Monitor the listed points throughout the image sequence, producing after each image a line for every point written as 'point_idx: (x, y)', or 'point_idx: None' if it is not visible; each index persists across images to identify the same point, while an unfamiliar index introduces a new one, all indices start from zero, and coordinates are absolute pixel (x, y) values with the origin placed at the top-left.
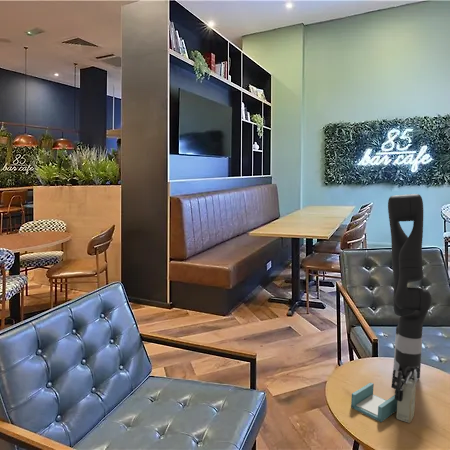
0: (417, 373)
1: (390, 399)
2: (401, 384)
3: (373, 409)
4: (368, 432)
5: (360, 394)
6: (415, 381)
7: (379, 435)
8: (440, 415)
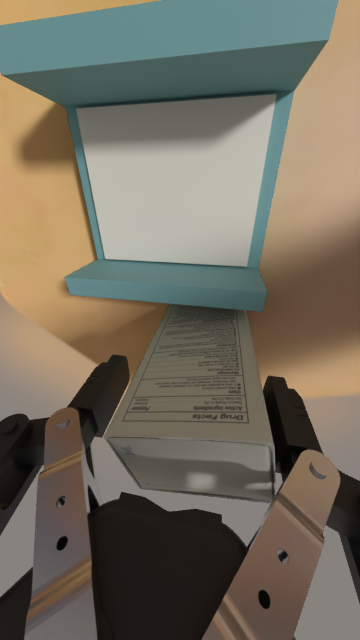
0: (356, 578)
1: (171, 294)
2: (115, 450)
3: (124, 216)
4: (28, 267)
5: (94, 79)
6: (255, 498)
7: (51, 297)
8: (307, 388)
